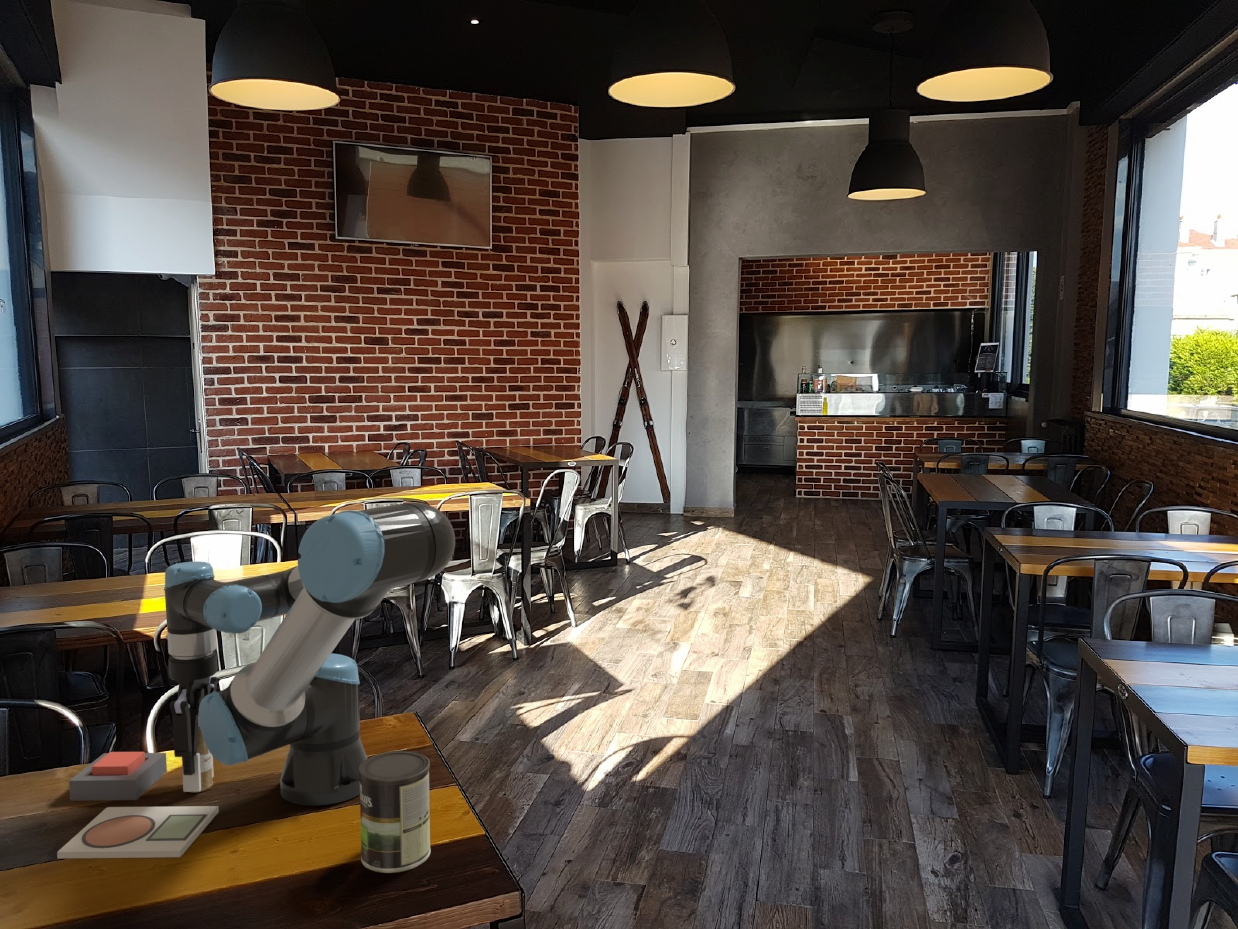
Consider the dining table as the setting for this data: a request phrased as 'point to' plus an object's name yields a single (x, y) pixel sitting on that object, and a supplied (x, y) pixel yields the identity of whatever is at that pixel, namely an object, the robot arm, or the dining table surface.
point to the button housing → (118, 781)
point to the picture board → (139, 832)
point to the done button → (118, 763)
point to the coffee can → (394, 811)
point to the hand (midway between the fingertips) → (198, 783)
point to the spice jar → (204, 762)
